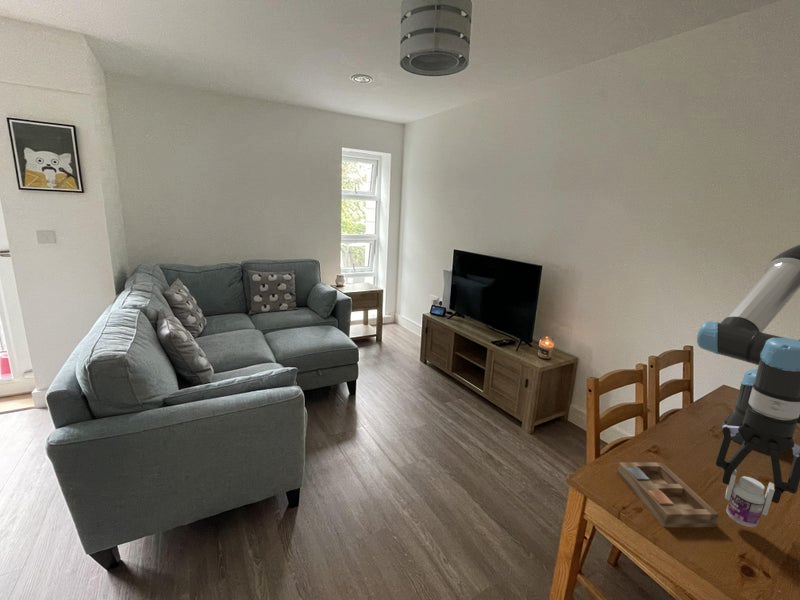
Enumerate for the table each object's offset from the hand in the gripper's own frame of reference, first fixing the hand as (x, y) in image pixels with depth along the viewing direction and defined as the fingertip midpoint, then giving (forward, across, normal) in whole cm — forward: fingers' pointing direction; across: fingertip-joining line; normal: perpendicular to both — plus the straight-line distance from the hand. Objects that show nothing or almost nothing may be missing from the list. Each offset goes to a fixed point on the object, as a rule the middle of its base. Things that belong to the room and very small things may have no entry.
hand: (745, 503), depth 82 cm
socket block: (+6, -14, -2) cm, 16 cm away
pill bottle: (+4, 0, 0) cm, 4 cm away
